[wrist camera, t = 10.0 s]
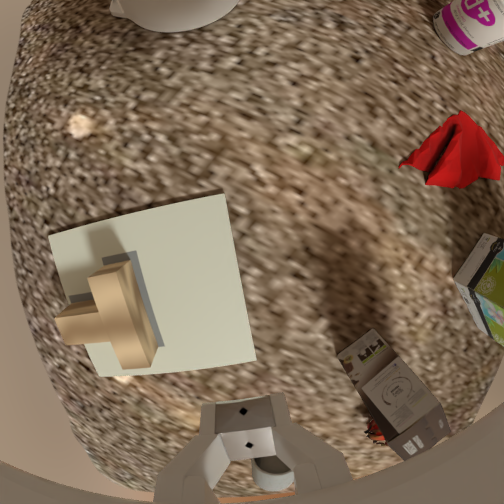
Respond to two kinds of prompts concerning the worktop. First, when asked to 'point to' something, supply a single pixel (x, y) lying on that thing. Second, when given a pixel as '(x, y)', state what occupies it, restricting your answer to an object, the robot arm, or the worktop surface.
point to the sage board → (167, 282)
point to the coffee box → (394, 396)
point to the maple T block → (112, 317)
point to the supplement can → (470, 24)
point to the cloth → (457, 154)
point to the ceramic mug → (271, 473)
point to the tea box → (485, 285)
